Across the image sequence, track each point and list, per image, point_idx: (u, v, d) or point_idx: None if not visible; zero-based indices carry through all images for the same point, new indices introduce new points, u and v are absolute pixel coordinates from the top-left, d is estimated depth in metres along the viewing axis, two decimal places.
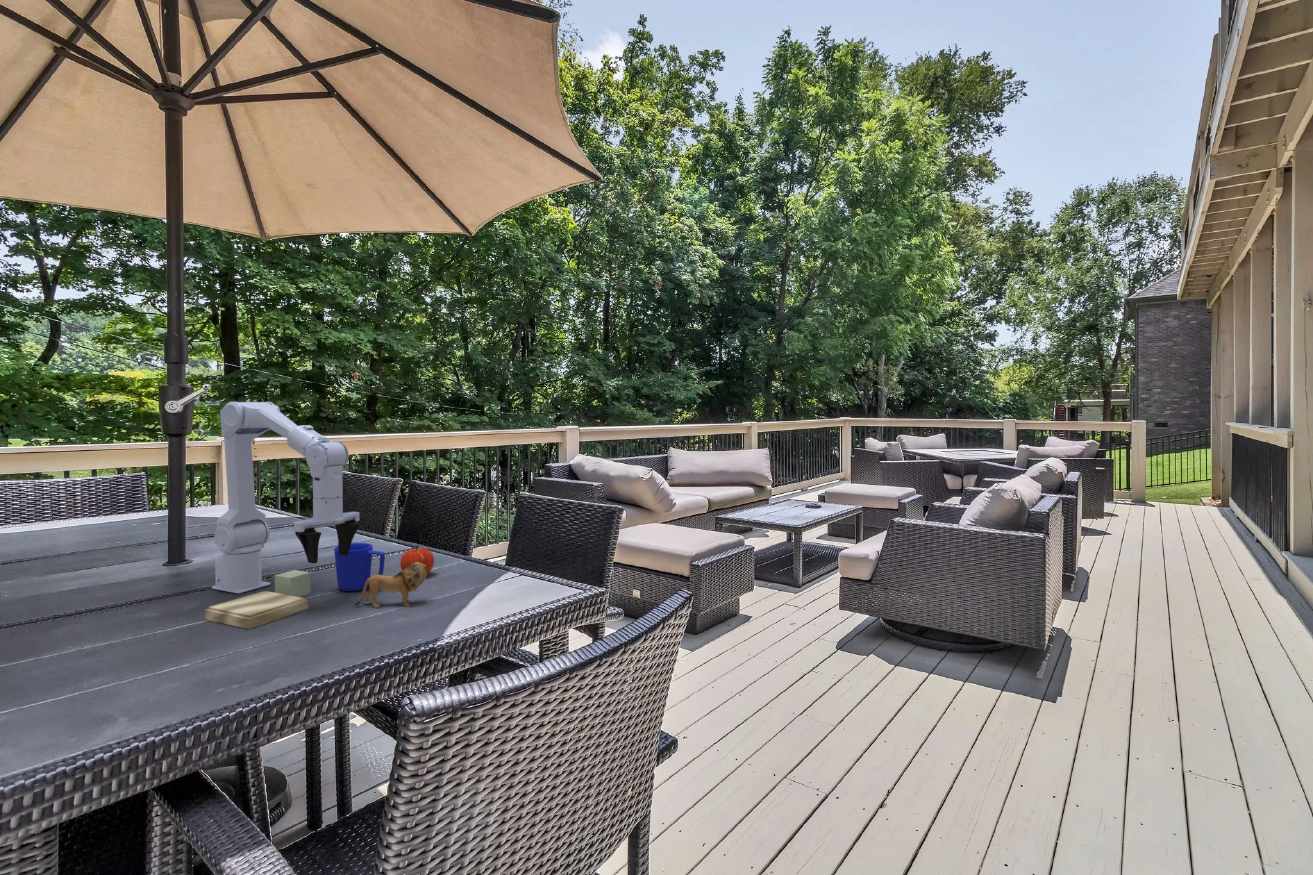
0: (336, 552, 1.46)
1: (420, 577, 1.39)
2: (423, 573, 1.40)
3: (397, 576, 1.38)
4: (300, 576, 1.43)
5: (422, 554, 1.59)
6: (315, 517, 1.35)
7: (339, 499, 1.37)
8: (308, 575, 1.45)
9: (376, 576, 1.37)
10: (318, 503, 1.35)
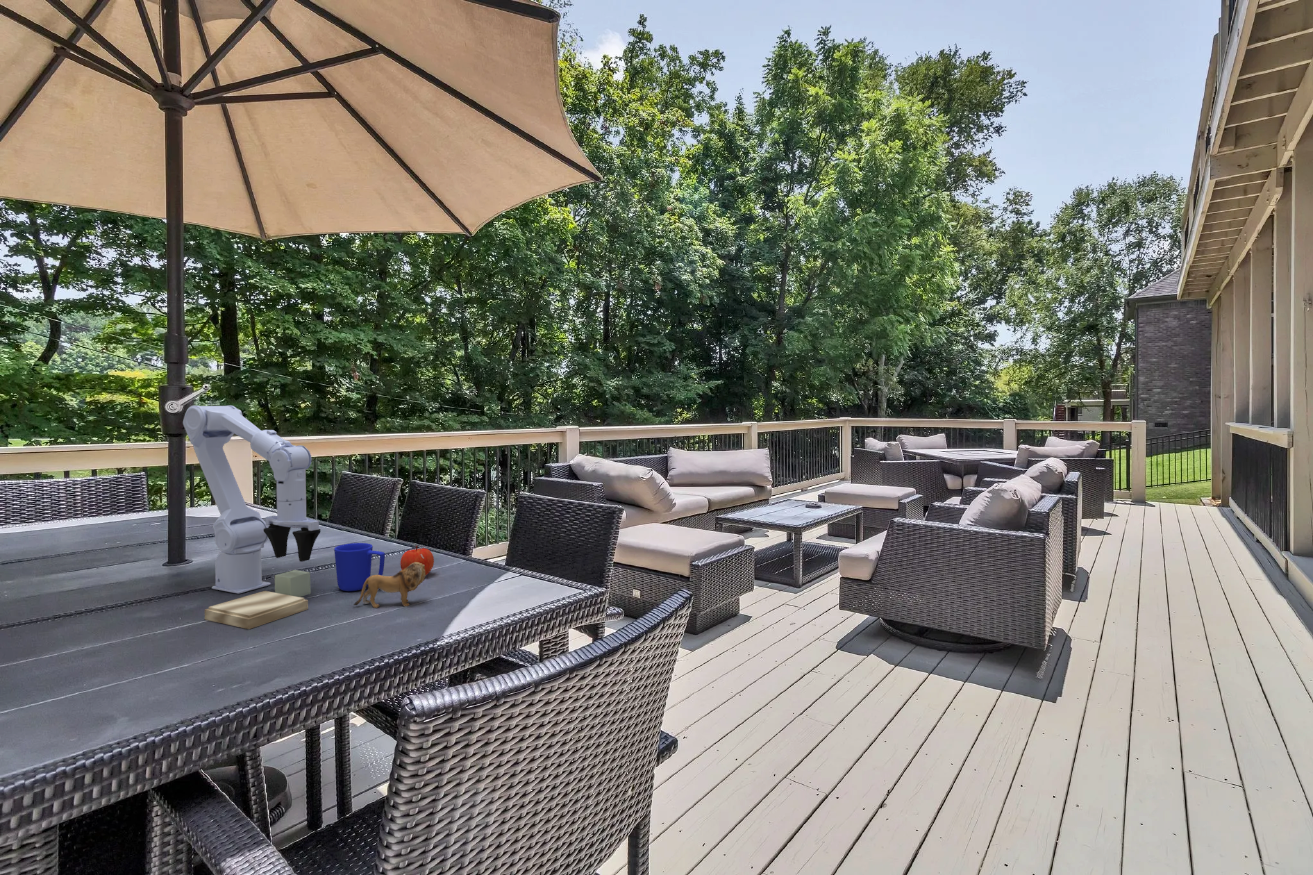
0: (336, 552, 1.46)
1: (419, 577, 1.39)
2: (422, 573, 1.40)
3: (396, 576, 1.38)
4: (300, 576, 1.43)
5: (422, 554, 1.59)
6: None
7: (282, 503, 1.40)
8: (308, 575, 1.45)
9: (375, 576, 1.37)
10: None
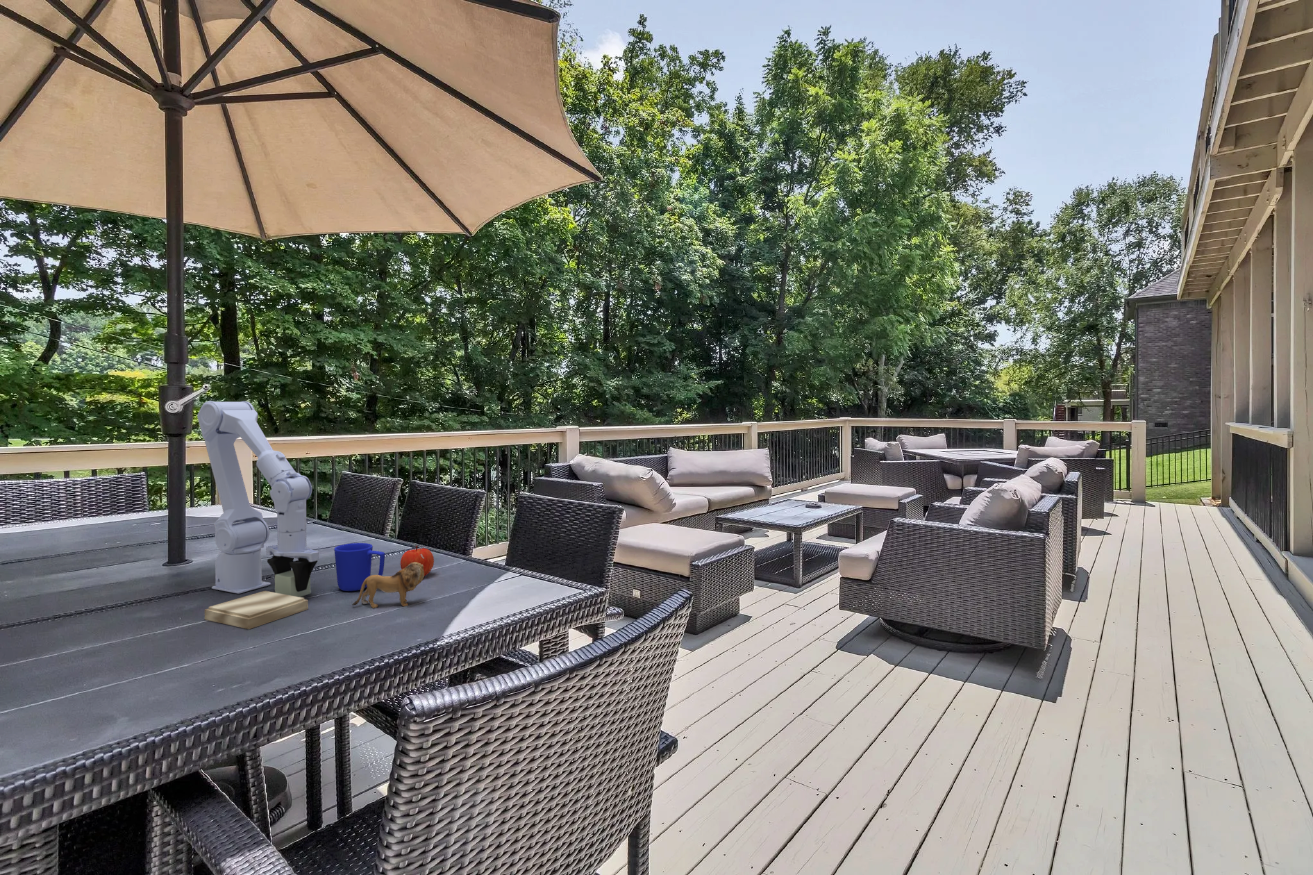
0: (336, 552, 1.46)
1: (418, 577, 1.39)
2: (421, 573, 1.40)
3: (395, 576, 1.38)
4: None
5: (422, 554, 1.59)
6: None
7: (283, 534, 1.41)
8: None
9: (374, 576, 1.37)
10: None
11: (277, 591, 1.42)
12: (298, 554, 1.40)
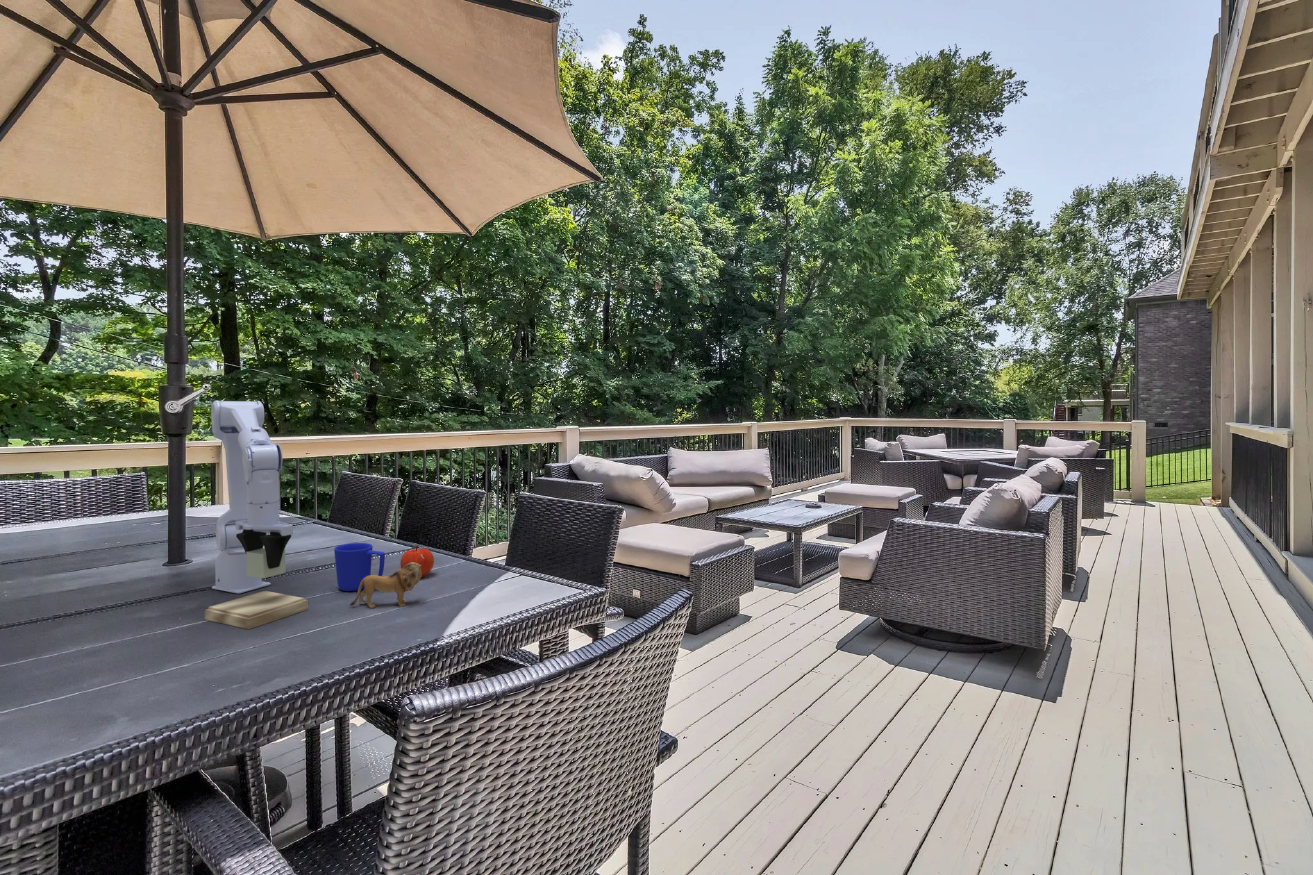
0: (336, 552, 1.46)
1: (415, 577, 1.39)
2: (418, 573, 1.40)
3: (392, 576, 1.38)
4: None
5: (422, 554, 1.59)
6: None
7: (253, 506, 1.29)
8: (283, 552, 1.34)
9: (371, 576, 1.37)
10: None
11: (249, 569, 1.32)
12: (270, 527, 1.29)
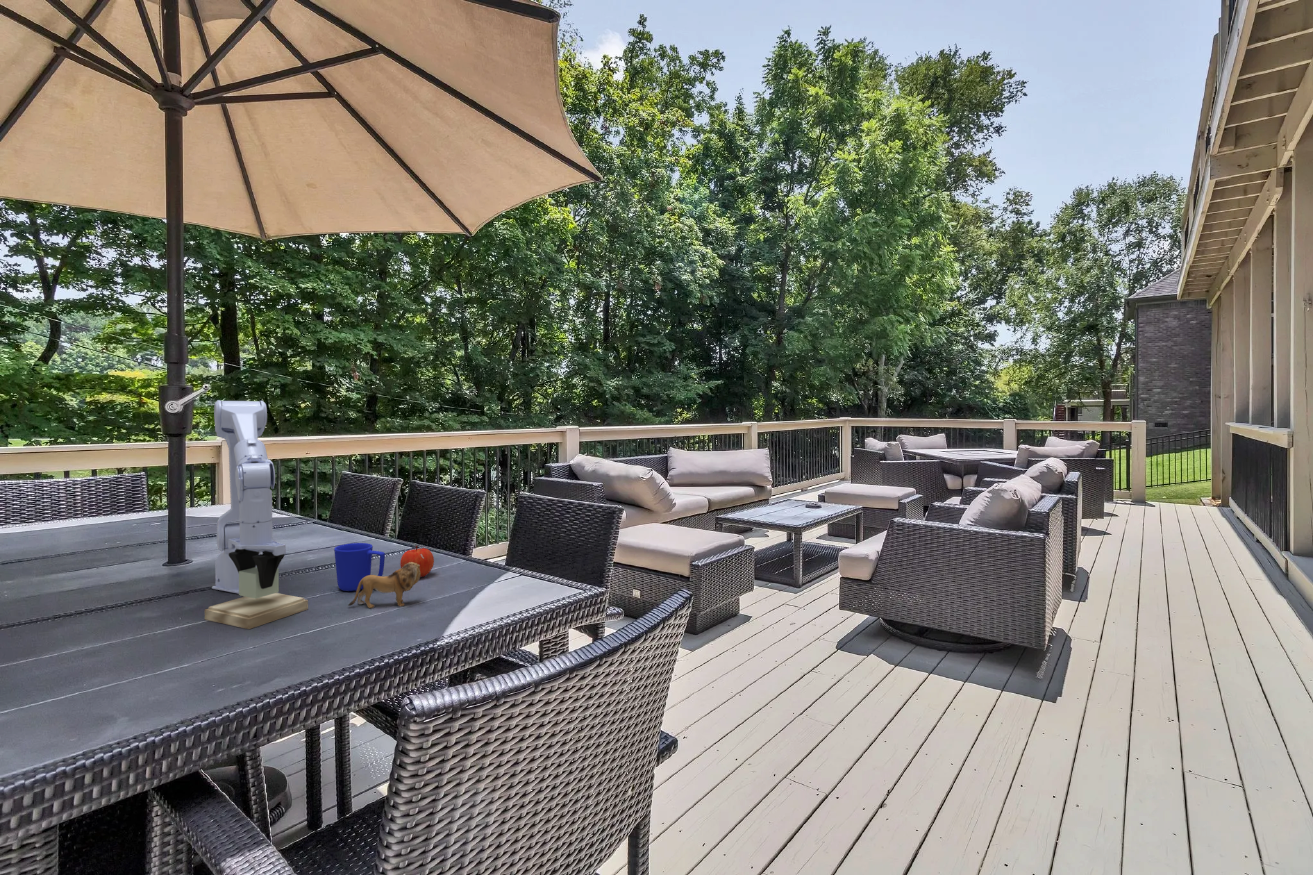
0: (336, 552, 1.46)
1: (414, 577, 1.39)
2: (417, 573, 1.40)
3: (391, 576, 1.38)
4: None
5: (422, 554, 1.59)
6: None
7: (245, 525, 1.27)
8: (276, 571, 1.32)
9: (370, 576, 1.37)
10: None
11: (241, 589, 1.29)
12: (262, 547, 1.27)
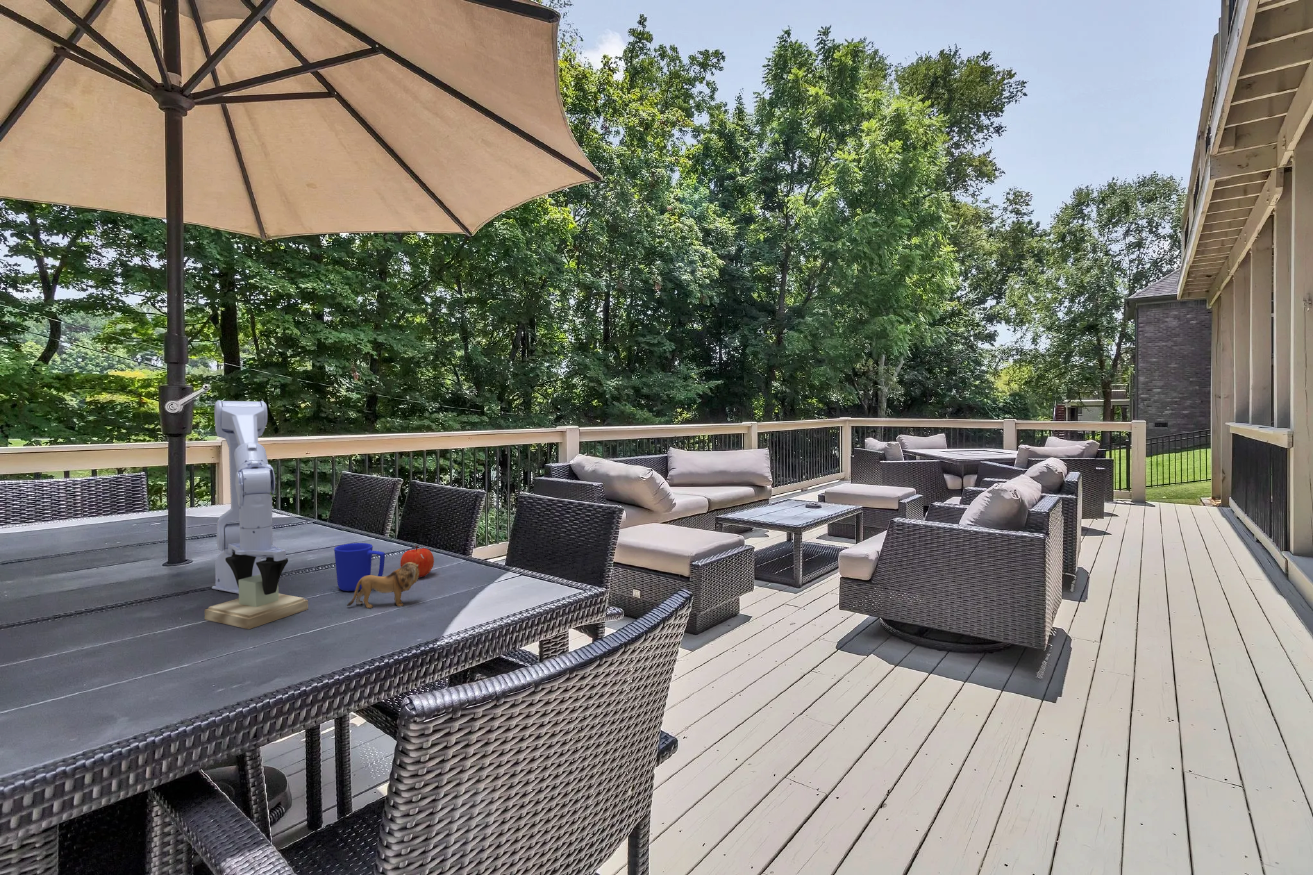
0: (336, 552, 1.46)
1: (413, 577, 1.39)
2: (416, 573, 1.40)
3: (390, 576, 1.38)
4: None
5: (422, 554, 1.59)
6: None
7: (245, 530, 1.27)
8: None
9: (369, 576, 1.37)
10: None
11: (241, 598, 1.30)
12: (262, 553, 1.27)
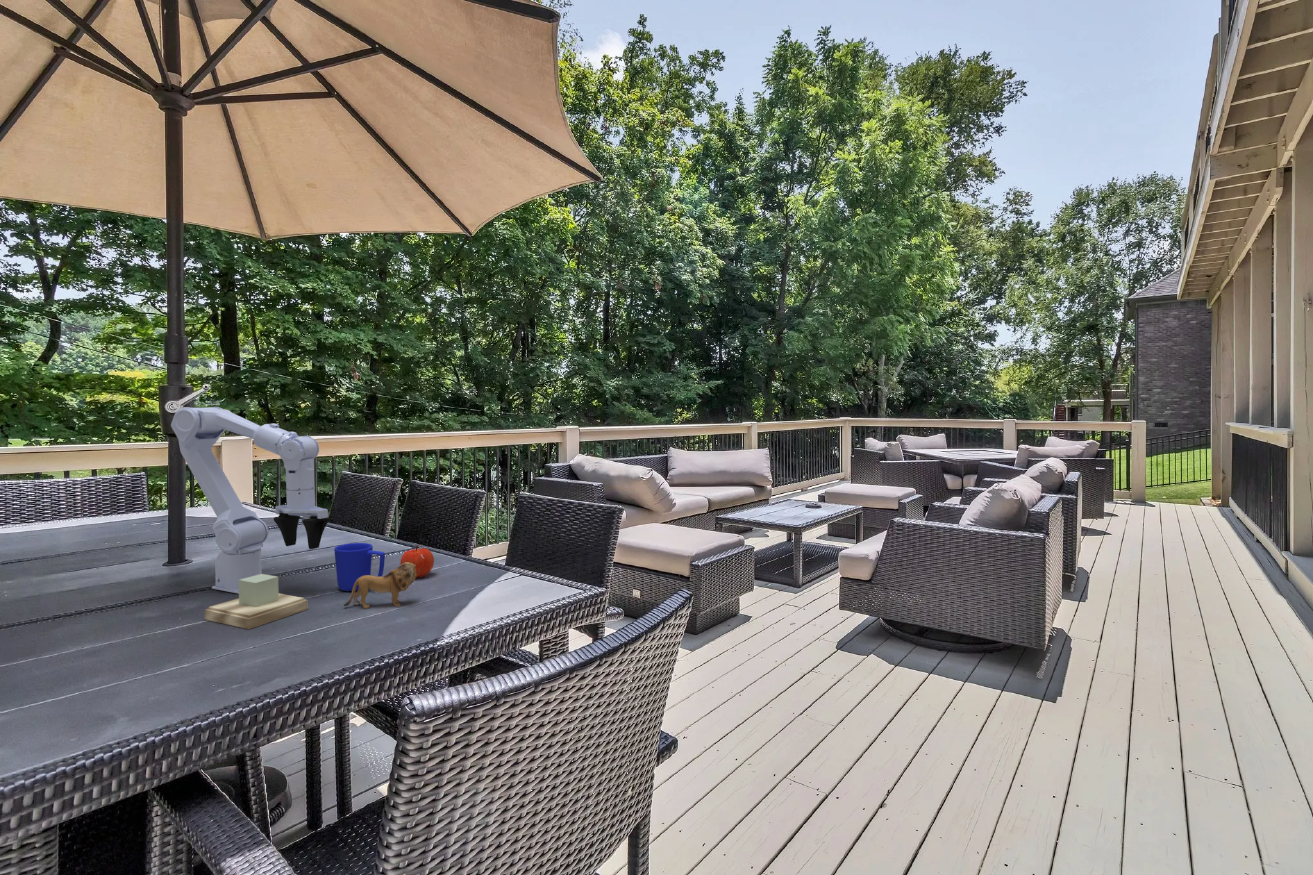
0: (336, 552, 1.46)
1: (410, 577, 1.39)
2: (413, 573, 1.40)
3: (387, 576, 1.38)
4: (267, 581, 1.30)
5: (422, 554, 1.59)
6: None
7: (291, 492, 1.43)
8: (276, 580, 1.32)
9: (366, 577, 1.37)
10: None
11: (241, 598, 1.30)
12: (307, 511, 1.43)
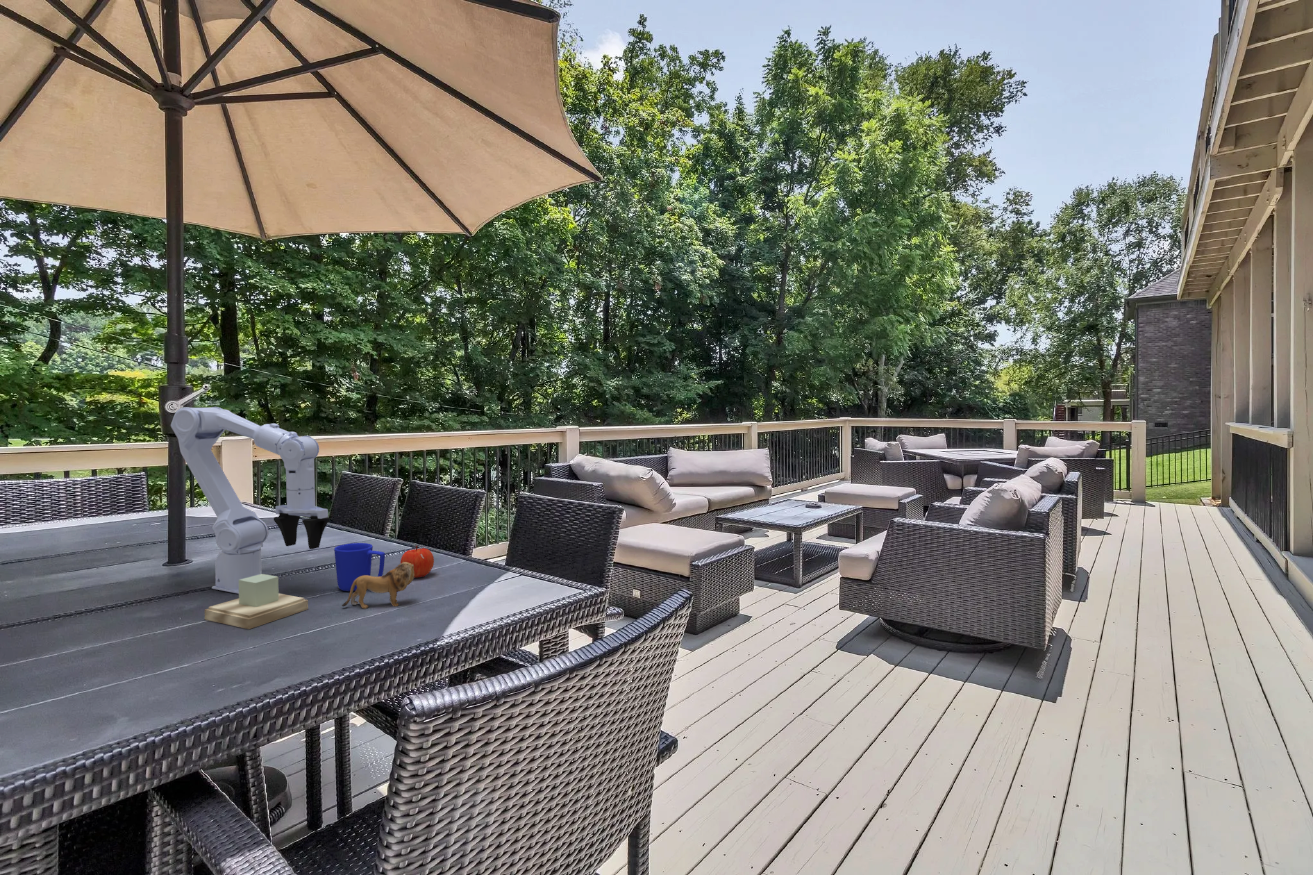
0: (336, 552, 1.46)
1: (408, 577, 1.39)
2: (411, 573, 1.40)
3: (385, 576, 1.38)
4: (267, 581, 1.30)
5: (422, 554, 1.59)
6: None
7: (292, 492, 1.43)
8: (276, 580, 1.32)
9: (364, 577, 1.37)
10: None
11: (241, 598, 1.30)
12: (307, 511, 1.43)
